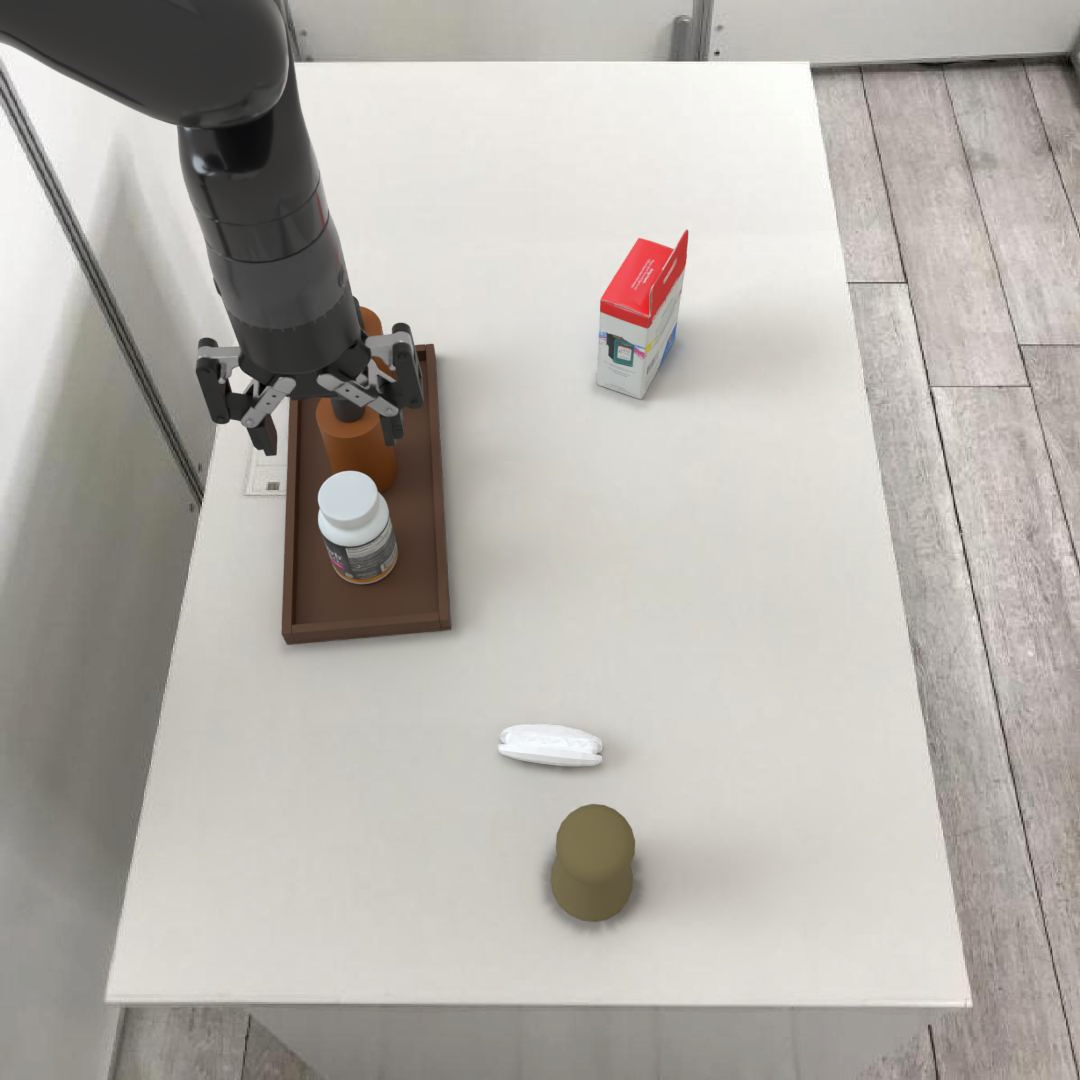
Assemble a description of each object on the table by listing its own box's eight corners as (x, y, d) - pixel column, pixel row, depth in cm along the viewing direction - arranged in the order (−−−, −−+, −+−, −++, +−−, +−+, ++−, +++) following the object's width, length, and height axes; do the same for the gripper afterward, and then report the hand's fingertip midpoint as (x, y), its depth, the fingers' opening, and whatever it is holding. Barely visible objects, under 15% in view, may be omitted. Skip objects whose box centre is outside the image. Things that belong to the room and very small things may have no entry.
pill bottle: (323, 546, 92) (299, 481, 84) (383, 520, 93) (366, 453, 85) (347, 597, 89) (325, 536, 81) (410, 570, 91) (395, 507, 82)
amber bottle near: (335, 500, 94) (307, 417, 84) (335, 449, 97) (309, 363, 87) (398, 495, 95) (378, 412, 84) (396, 444, 98) (377, 358, 87)
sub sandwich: (600, 775, 82) (601, 763, 79) (497, 764, 82) (495, 751, 80) (604, 737, 83) (605, 724, 81) (502, 726, 84) (501, 713, 82)
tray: (286, 644, 88) (281, 634, 86) (295, 368, 103) (291, 354, 101) (451, 629, 88) (449, 619, 87) (435, 357, 104) (433, 343, 102)
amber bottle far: (335, 420, 99) (309, 332, 89) (335, 373, 102) (310, 283, 92) (395, 415, 99) (377, 326, 89) (394, 368, 102) (376, 278, 92)
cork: (628, 834, 79) (637, 788, 70) (637, 918, 76) (648, 882, 67) (547, 840, 79) (546, 794, 70) (553, 924, 76) (552, 888, 67)
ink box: (630, 324, 105) (640, 208, 93) (676, 341, 104) (693, 225, 92) (594, 385, 101) (599, 273, 89) (641, 403, 100) (654, 292, 88)
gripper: (402, 224, 65) (428, 393, 79) (167, 241, 65) (234, 408, 78) (405, 316, 61) (432, 476, 75) (155, 334, 61) (228, 492, 75)
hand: (331, 441), depth 77 cm, fingers open, 8 cm apart
